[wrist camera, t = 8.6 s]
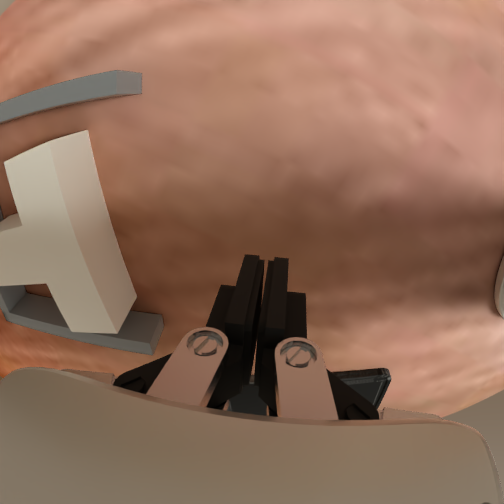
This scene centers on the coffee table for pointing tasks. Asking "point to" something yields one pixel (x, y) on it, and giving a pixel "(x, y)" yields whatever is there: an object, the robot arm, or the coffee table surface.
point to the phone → (362, 381)
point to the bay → (5, 297)
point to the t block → (65, 235)
